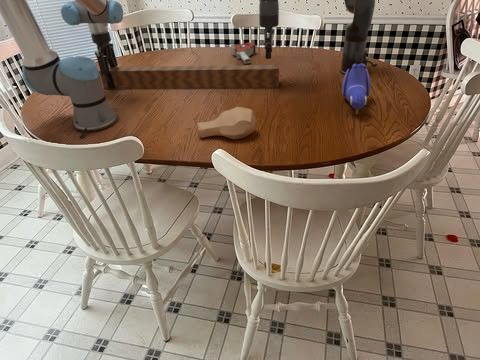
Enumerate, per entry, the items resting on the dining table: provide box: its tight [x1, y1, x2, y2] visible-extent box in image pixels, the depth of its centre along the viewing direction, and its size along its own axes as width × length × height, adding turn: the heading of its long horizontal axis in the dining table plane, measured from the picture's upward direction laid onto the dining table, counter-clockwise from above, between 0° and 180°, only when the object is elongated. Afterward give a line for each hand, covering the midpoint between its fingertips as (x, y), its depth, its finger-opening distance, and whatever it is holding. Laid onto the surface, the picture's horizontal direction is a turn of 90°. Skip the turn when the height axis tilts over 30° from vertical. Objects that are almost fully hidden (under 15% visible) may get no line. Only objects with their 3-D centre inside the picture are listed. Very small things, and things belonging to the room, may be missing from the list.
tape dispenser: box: [230, 41, 256, 65], centre depth 185 cm, size 18×5×20 cm
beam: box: [98, 64, 280, 90], centre depth 156 cm, size 79×5×8 cm, turn 83°
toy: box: [341, 63, 371, 116], centre depth 129 cm, size 10×17×25 cm
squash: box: [197, 106, 257, 140], centre depth 118 cm, size 11×20×9 cm, turn 92°
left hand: (114, 85), depth 162 cm, fingers closed on beam, 5 cm apart
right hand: (268, 55), depth 146 cm, fingers open, 8 cm apart
